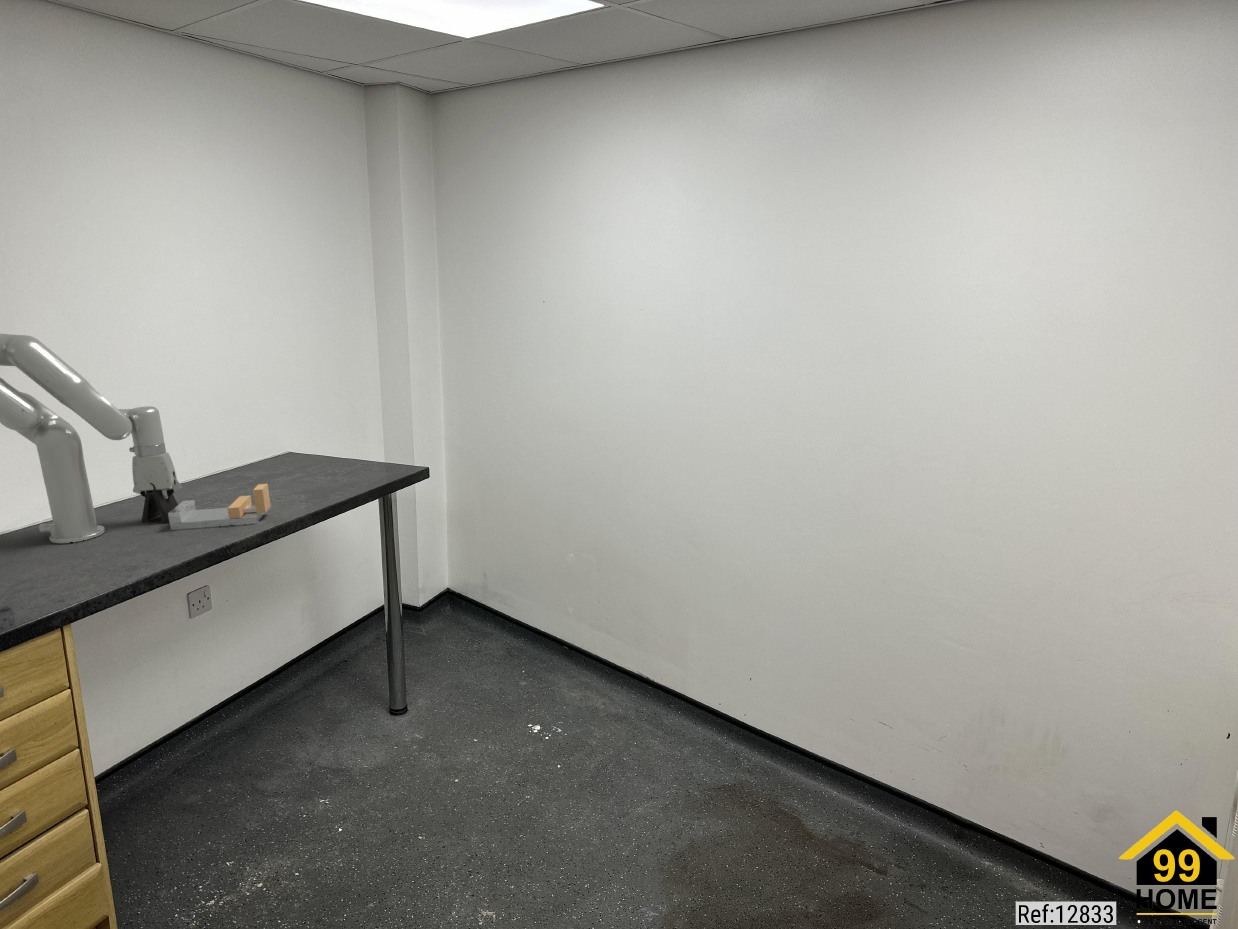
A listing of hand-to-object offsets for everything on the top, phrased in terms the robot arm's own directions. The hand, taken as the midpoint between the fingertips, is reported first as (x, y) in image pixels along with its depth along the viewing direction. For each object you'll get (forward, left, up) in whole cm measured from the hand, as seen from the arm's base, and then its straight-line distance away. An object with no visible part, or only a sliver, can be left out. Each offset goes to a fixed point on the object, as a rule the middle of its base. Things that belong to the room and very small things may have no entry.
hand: (161, 511), depth 224 cm
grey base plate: (+17, -5, -3) cm, 18 cm away
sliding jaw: (+26, -5, 0) cm, 26 cm away
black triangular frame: (0, 0, -3) cm, 3 cm away
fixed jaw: (+7, -5, -1) cm, 9 cm away
